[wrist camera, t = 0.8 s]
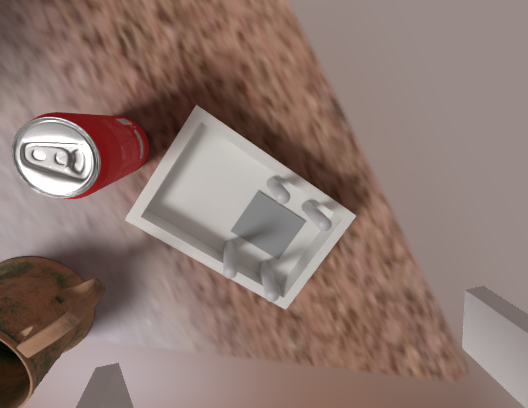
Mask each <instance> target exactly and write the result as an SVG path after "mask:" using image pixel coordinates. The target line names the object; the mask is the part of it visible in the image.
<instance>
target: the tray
mask: <svg viewBox="0 0 528 408" xmlns="http://www.w3.org/2000/svg"><path fill="white" fill-rule="evenodd" d="M355 217H356V215H355V214H353V213H352V212H351V211H349V210H348V209H346V208H345V207H344V206H342V205H341V204H339V203H338V202H336V201H335V200H333V199H332V198H331V197H329V196H328V195H326V194H325V193H323V192H322V191H320V190H319V189H318V188H316V187H315V186H313V185H312V184H310V183H309V182H307V181H306V180H305V179H303V178H302V177H300V176H299V175H297V174H296V173H294V172H293V171H292V170H290V169H289V168H287V167H286V166H284V165H283V164H281V163H280V162H279V161H277V160H276V159H274V158H273V157H271V156H270V155H268V154H267V153H266V152H264V151H263V150H261V149H260V148H258V147H257V146H255V145H254V144H253V143H251V142H250V141H248V140H247V139H245V138H244V137H242V136H241V135H240V134H238V133H237V132H235V131H234V130H232V129H231V128H229V127H228V126H227V125H225V124H224V123H222V122H221V121H219V120H218V119H216V118H215V117H214V116H212V115H211V114H209V113H208V112H206V111H205V110H203V109H202V108H201V107H199V106H197V105H196V106H195V107H194V109H193V111H192V112H191V114H190V116H189V117H188V119H187V120H186V122H185V124H184V125H183V127H182V128H181V130H180V132H179V133H178V135H177V136H176V138H175V140H174V141H173V143H172V145H171V146H170V148H169V149H168V151H167V153H166V154H165V156H164V157H163V159H162V161H161V162H160V164H159V165H158V167H157V169H156V170H155V172H154V173H153V175H152V177H151V178H150V180H149V182H148V183H147V185H146V186H145V188H144V190H143V191H142V193H141V194H140V196H139V198H138V199H137V201H136V202H135V204H134V206H133V207H132V209H131V211H130V212H129V214H128V215H127V217H126V219H125V220H126V221H127V222H129V223H131V224H133V225H135V226H136V227H138V228H140V229H142V230H144V231H145V232H147V233H149V234H151V235H153V236H154V237H156V238H158V239H160V240H162V241H163V242H165V243H167V244H169V245H171V246H172V247H174V248H176V249H178V250H180V251H181V252H183V253H185V254H187V255H189V256H190V257H192V258H194V259H196V260H197V261H199V262H201V263H203V264H205V265H206V266H208V267H210V268H212V269H214V270H215V271H217V272H219V273H221V274H223V275H224V276H225V277H226V278H229V279H232V280H233V281H235V282H237V283H239V284H241V285H242V286H244V287H246V288H248V289H250V290H251V291H253V292H255V293H257V294H259V295H260V296H262V297H264V298H266V299H267V300H268V301H269V302H273V303H275V304H276V305H278V306H280V307H282V308H284V309H285V310H286V309H287V307H288V306H289V305H290V303H291V302H292V301H293V299H294V298H295V297H296V295H297V294H298V293H299V291H300V290H301V289H302V287H303V286H304V285H305V283H306V282H307V281H308V279H309V278H310V277H311V276H312V274H313V273H314V272H315V270H316V269H317V268H318V266H319V265H320V264H321V262H322V261H323V260H324V258H325V257H326V256H327V254H328V253H329V252H330V250H331V249H332V248H333V246H334V245H335V244H336V242H337V241H338V240H339V238H340V237H341V236H342V234H343V233H344V232H345V230H346V229H347V228H348V226H349V225H350V224H351V222H352V221H353V220H354V218H355Z"/></svg>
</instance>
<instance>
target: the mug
mask: <svg viewBox="0 0 528 408" xmlns="http://www.w3.org/2000/svg"><path fill="white" fill-rule="evenodd" d="M104 291H105V286H104V285H103V284H102V283H101V282H100V281H99V280H98V279H97V278H92V279H90V280H88V281H86V282H84V281H83V280H82V279H81V278H80V277H79V276H78V275H77V274H76V273H75V272H73V271H72V270H71V269H69V268H68V267H66V266H64V265H62V264H60V263H58V262H55V261H52V260H49V259H45V258H39V257H18V258H13V259H9V260H6V261H3V262H1V263H0V408H21V407H22V406H23V405H24V404H25V403H26V401H28V399H29V398H30V397H31V395H32V394H33V392H34V390H35V389H36V387H37V386H38V385H39V383H40V382H41V381H42V379H43V378H44V376H45V375H46V374H47V373H48V371H49V370H50V368H51V367H52V365H53V364H54V362H55V361H56V360H57V359H58V358H59V357H60V356H61V354H62V353H64V352H66V351H68V350H70V349H72V348H73V347H75V346H76V345H77V344H78V343H80V342H81V341H82V339H83V338H84V337H85V336H86V334H87V333H88V331H89V330H90V328H91V326H92V323H93V320H94V313H95V306H96V304H97V303H98V302H99V300H100V299H101V297H102V296H103V294H104Z"/></svg>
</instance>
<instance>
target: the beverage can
mask: <svg viewBox="0 0 528 408" xmlns="http://www.w3.org/2000/svg"><path fill="white" fill-rule="evenodd" d="M148 153H149V143H148V139H147V136H146V134H145V132H144V131H143V129H142V128H141V127H140V126H139V125H138V124H137V123H135V122H134V121H132V120H130V119H128V118H125V117H120V116H106V115H91V114H75V113H60V112H55V113H47V114H43V115H41V116H38V117H36V118H34V119H33V120H31V121H30V122H28V123H27V124H25V125H24V126H23V127H22V128H21V129H20V130H19V131H18V133H17V134H16V136H15V138H14V141H13V145H12V158H13V162H14V165H15V168H16V170H17V172H18V174H19V175H20V177H21V178H22V179H23V180H24V182H25V183H26V184H27V185H28V186H29V187H30V188H32V189H34V190H35V191H37V192H39V193H41V194H43V195H46V196H49V197H53V198H62V199H77V198H82V197H85V196H87V195H90V194H92V193H94V192H96V191H97V190H99V189H101V188H103V187H105V186H107V185H109V184H111V183H113V182H115V181H117V180H119V179H121V178H122V177H124V176H126V175H128V174H130V173H132V172H134V171H136V170H138V169H139V168H140V167H141V166H142V165H143V164H144V163H145V161H146V159H147V157H148Z"/></svg>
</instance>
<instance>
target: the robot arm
mask: <svg viewBox="0 0 528 408" xmlns="http://www.w3.org/2000/svg"><path fill="white" fill-rule="evenodd" d="M462 348H463V349H464V350H465V351H466V352H467V353H468V354H469V355H470V356H471V357H472V358H473V359H474V360H475V361H476V362H478V363H479V364H480V365H481V366H482V367H483V368H484V369H485V370H486V371H487V372H488V373H489V374H490V375H491V376H492V377H493V378H495V380H496V381H498V382H499V383H500V384H501V385H502V386H503V387H504V388H505V389H506V390H507V391H508V392H509V393H510V394H511V395H512V396H513V397H514V398H515V399H516V400H518V401H519V402H520V403H521V404H522V405H523V406H524V407H525V408H528V314H527V313H525V312H523V311H522V310H520V309H519V308H517V307H516V306H514V305H512V304H511V303H509V302H508V301H506V300H505V299H503V298H502V297H500V296H498V295H497V294H495V293H494V292H492V291H491V290H489V289H487V288H486V287H484V286H481V287H476V288H471V289H467V290H465V307H464V323H463V345H462ZM76 408H133V405H132V402H131V399H130V396H129V393H128V390H127V387H126V384H125V381H124V378H123V375H122V372H121V369H120V366H119V363H116V364H112V365H106V366H102V367H97V368H96V369H95V371H94V373H93V375H92V377H91V379H90V381H89V383H88V385H87V387H86V389H85V391H84V393H83V395H82V397H81V399H80V401H79V403H78V405H77V407H76Z"/></svg>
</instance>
